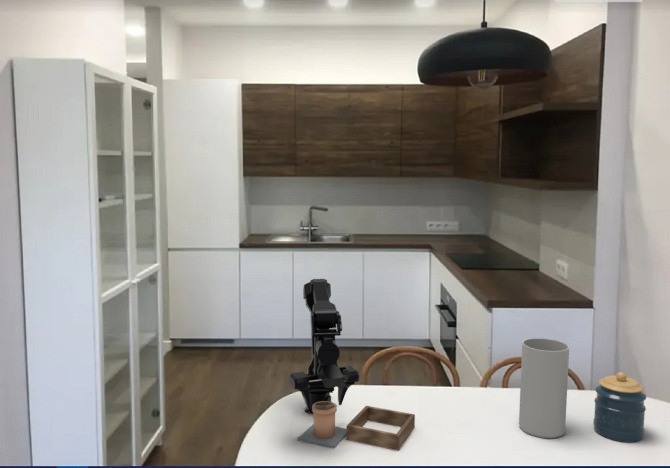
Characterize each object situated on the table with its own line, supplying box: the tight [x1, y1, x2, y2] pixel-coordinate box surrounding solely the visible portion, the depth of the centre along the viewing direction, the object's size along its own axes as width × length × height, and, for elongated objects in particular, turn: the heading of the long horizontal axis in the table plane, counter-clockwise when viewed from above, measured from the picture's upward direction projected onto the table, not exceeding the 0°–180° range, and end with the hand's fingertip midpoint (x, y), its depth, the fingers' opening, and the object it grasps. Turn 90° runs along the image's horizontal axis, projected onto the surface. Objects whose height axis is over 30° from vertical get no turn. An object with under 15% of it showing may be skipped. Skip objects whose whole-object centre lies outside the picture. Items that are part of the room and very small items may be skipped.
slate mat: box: [297, 423, 347, 449], centre depth 160 cm, size 11×11×1 cm
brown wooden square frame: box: [345, 405, 416, 451], centre depth 161 cm, size 15×15×4 cm
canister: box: [593, 371, 647, 443], centre depth 162 cm, size 13×13×18 cm
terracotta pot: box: [312, 401, 338, 438], centre depth 159 cm, size 7×7×8 cm
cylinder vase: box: [518, 337, 570, 439], centre depth 164 cm, size 12×12×25 cm
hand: (324, 407), depth 159 cm, fingers open, 9 cm apart
